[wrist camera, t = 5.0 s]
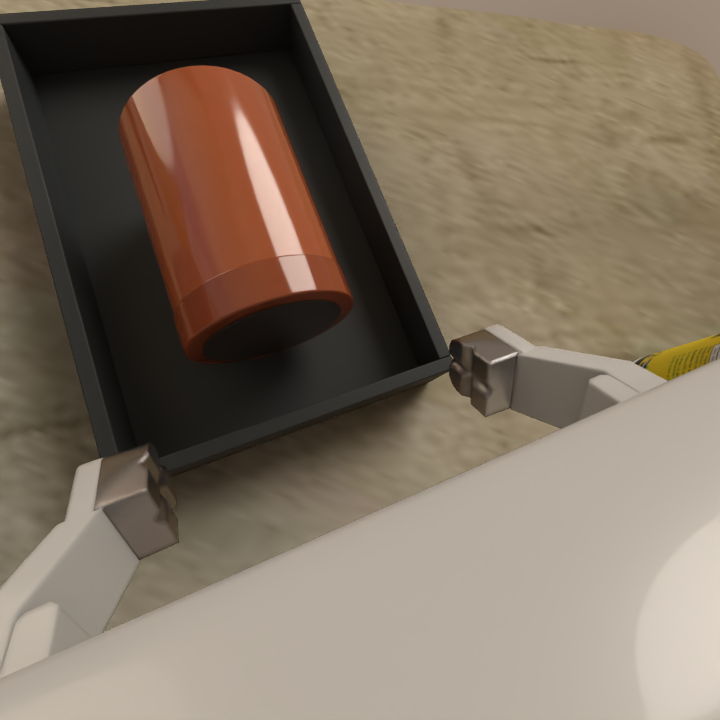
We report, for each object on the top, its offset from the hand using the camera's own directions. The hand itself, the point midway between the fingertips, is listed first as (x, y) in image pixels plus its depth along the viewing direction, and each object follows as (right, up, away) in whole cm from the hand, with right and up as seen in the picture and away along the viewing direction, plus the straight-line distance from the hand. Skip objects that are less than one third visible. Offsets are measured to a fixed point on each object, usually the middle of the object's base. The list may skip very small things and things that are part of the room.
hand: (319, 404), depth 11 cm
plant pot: (-5, +11, +6) cm, 13 cm away
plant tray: (-6, +8, +10) cm, 14 cm away
